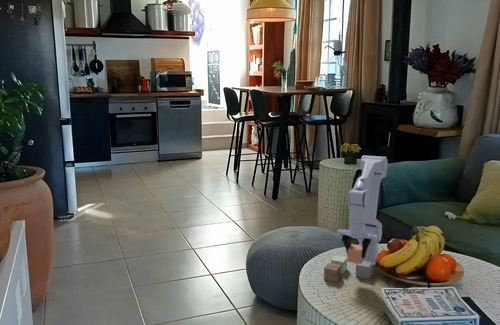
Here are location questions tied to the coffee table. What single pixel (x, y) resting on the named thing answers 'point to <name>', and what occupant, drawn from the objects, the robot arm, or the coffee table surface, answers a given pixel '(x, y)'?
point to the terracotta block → (355, 254)
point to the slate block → (364, 269)
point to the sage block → (340, 262)
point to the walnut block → (332, 272)
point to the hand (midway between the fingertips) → (356, 255)
